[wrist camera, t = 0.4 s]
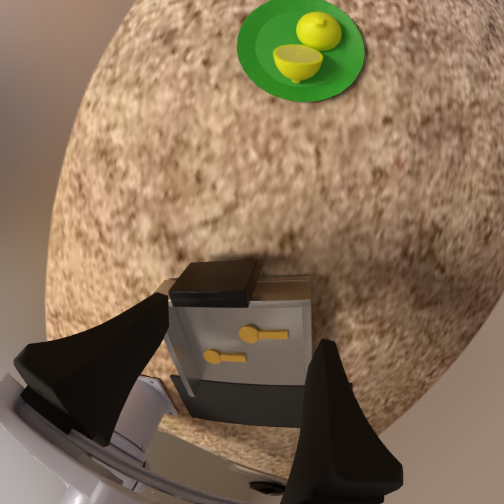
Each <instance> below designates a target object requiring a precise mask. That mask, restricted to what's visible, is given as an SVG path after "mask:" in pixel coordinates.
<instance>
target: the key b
mask: <svg viewBox="0 0 504 504" xmlns="http://www.w3.org/2000/svg"><path fill="white" fill-rule="evenodd" d="M239 337H240V338H241V339H242V340H243V341H245V342H247V343H255V342H257V341H258V340H259V339H288V330H258V329H257V328H256V327H254V326H251V325H245V326H243V327H241V329H240V331H239Z"/></svg>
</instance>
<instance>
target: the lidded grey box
mask: <svg viewBox="0 0 504 504" xmlns="http://www.w3.org/2000/svg"><path fill="white" fill-rule="evenodd" d="M259 275H260V274H259V267H258V261H257V260H242V261H219V262H195V263H190V264H189V266H188V267H187V268H186V269H185V270H184V272H183V273H182V274H181V275H180V277H179V278H178V279H177V280H164V282H163V283H162V284H161V285H160V286H159V287H158V288H157V290H156V291H155V292H154V293H156V292H159V293H162V294H165V295H168V303H169V328H168V330H167V332H166V335H165V337H164V341H165V344H166V346H167V348H168V351H169V353H170V355H171V358H172V360H173V362H174V364H175V366H176V369H177V371H178V373H179V375H180V377H181V379H182V382H183V384H184V386H185V388H186V390H187V392H188V394H189V396H191V397H195V395H196V393H197V391H198V388H199V386H200V384H201V381H202V380H211V381H221V382H232V383H246V384H264V385H305V380H306V374H307V369H308V365H309V363H310V361H311V359H312V357H313V314H312V286H311V276H298V277H272V278H259ZM154 293H153V294H154ZM153 294H152V295H153ZM245 325H251V326H254V327H256V328H257V329H258V330H288V339H259V340H258V341H257V342H255V343H247V342H245V341H243V340H242V339H241V338H240V337H239V331H240V329H241V327H243V326H245ZM207 349H214V350H217V351H218V352H220V353H225V354H245V355H246V359H247V361H246V362H229V361H221V362H220V363H218V364H212V363H209V362H208V361H206V360H205V359H204V357H203V354H204V351H205V350H207Z"/></svg>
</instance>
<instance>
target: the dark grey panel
mask: <svg viewBox="0 0 504 504" xmlns="http://www.w3.org/2000/svg"><path fill="white" fill-rule="evenodd" d="M170 377H171V379H172V381H173V383H174V385H175V387H176V389H177V391H178V393H179V395H180V397H181V399H182V400H183V402H184V404H185V406H186V408H187V410H188V411H189V413H190V415H191V417H192V418H198V419H204V420H211V421H218V422H225V423H233V424H243V425H254V426H267V427H290V428H301V421H302V409H303V397H304V385H264V384H246V383H232V382H221V381H211V380H202V381H201V384H200V386H199V388H198V391H197V393H196V395H195V397H191V396H189V394H188V392H187V390H186V388H185V386H184V384H183V382H182V379H181V377H180V376H175V375H171V376H170ZM349 384H350V386H351V388H352V383H349Z"/></svg>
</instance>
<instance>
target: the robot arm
mask: <svg viewBox="0 0 504 504" xmlns="http://www.w3.org/2000/svg"><path fill="white" fill-rule="evenodd" d="M168 328H169V303H168V295H165V294H162V293H159V292H156V293H154V294H153V295H151V296H149V297H148V298H146V299H145V300H143V301H141V302H140V303H138V304H136V305H135V306H133V307H132V308H130V309H128V310H126V311H125V312H123V313H121V314H120V315H118V316H116V317H114V318H112V319H110V320H108V321H107V322H105V323H103V324H100V325H98V326H96V327H94V328H91V329H89V330H86V331H84V332H81V333H78V334H74V335H71V336H68V337H65V338H61V339H57V340H52V341H47V342H40V343H33V344H28V345H27V346H26V347H25V348H24V349H23V350H22V351H21V352H20V353H19V355H18V356H17V357H16V358H15V359H14V365H15V367H16V369H17V370H18V372H19V374H20V375H21V377H22V378H23V379H24V381H25V382H26V384H27V387H26V388H25V389H24V387H23V386H22V385H21V384H20V383H19V382H18V381H16V380H15V379H14V378H13V377H12V376H11V375H10V374H9V373H7V374H6V375H5V376H4V377H3V379H2V380H1V381H0V424H1V426H2V427H3V428H4V429H5V430H6V431H7V432H8V433H9V434H10V435H11V436H12V437H13V438H14V439H15V440H16V441H17V442H18V443H19V444H20V445H21V446H22V447H23V448H24V449H25V450H26V451H27V452H28V453H29V454H30V455H32V456H33V457H34V458H35V459H36V460H37V461H38V462H39V463H41V464H42V465H43V466H44V467H45V468H46V469H48V470H49V471H50V472H51V473H53V474H54V475H55V476H56V477H58V478H59V479H60V480H62V481H63V482H64V483H65V485H66V487H67V489H68V490H67V491H66V493H65V495H64V497H63V498H62V500H61V502H60V504H162V503H160V502H157V501H155V500H152V499H150V498H148V497H145V496H143V495H141V492H142V491H143V489H144V488H145V486H146V485H147V486H149V487H151V488H154V489H156V490H159V491H161V492H164V493H166V494H169V495H171V496H174V497H177V498H179V499H182V500H185V501H188V502H191V503H194V504H255V503H249V502H245V501H240V500H236V499H232V498H228V497H224V496H220V495H217V494H213V493H210V492H206V491H203V490H200V489H197V488H194V487H191V486H188V485H185V484H182V483H179V482H177V481H174V480H171V479H169V478H166V477H164V476H161V475H159V474H157V473H154V472H152V471H151V467H150V464H149V462H148V461H146V458H147V456H148V455H147V454H145V451H146V450H147V448H148V446H149V444H150V442H151V439H152V437H153V435H154V433H155V431H156V429H157V427H158V425H159V423H160V421H161V419H162V417H163V415H164V414H169V415H174V416H177V415H178V412H177V411H176V409H175V407H174V406H173V404H172V402H171V400H170V399H169V397H168V395H167V393H166V392H165V390H164V388H163V386H162V384H161V383H160V381H159V380H158V379H155V378H150V377H145V376H140V374H141V373H142V371H143V370H144V368H145V367H146V365H147V364H148V362H149V361H150V359H151V358H152V356H153V355H154V353H155V352H156V350H157V349H158V347H159V346H160V344H161V342H162V340H163V339H164V337H165V335H166V332H167V330H168ZM402 485H403V467H402V464H401V463H400V462H399V461H398V460H397V459H396V458H395V457H394V456H393V455H392V454H391V453H390V452H389V450H388V449H387V448H386V447H385V445H384V444H383V443H382V442H381V440H380V439H379V438H378V436H377V434H376V433H375V432H374V430H373V429H372V427H371V426H370V424H369V422H368V421H367V419H366V417H365V416H364V414H363V412H362V410H361V408H360V406H359V404H358V402H357V400H356V398H355V396H354V393H353V391H352V389H351V386H350V384H349V381H348V379H347V376H346V373H345V371H344V368H343V365H342V362H341V359H340V356H339V353H338V349H337V346H336V343H335V341H330V340H326V339H321V341H320V343H319V345H318V347H317V349H316V351H315V353H314V355H313V357H312V359H311V361H310V363H309V365H308V369H307V374H306V380H305V385H304V397H303V409H302V421H301V430H300V436H299V440H298V445H297V449H296V453H295V457H294V461H293V465H292V469H291V472H290V476H289V479H288V482H287V485H286V488H285V491H284V494H283V497H282V500H281V502H280V504H380V503H383V502H384V495H387V494H389V493H391V492H393V491H396V490H398V489H399V488H400V487H401V486H402Z"/></svg>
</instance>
